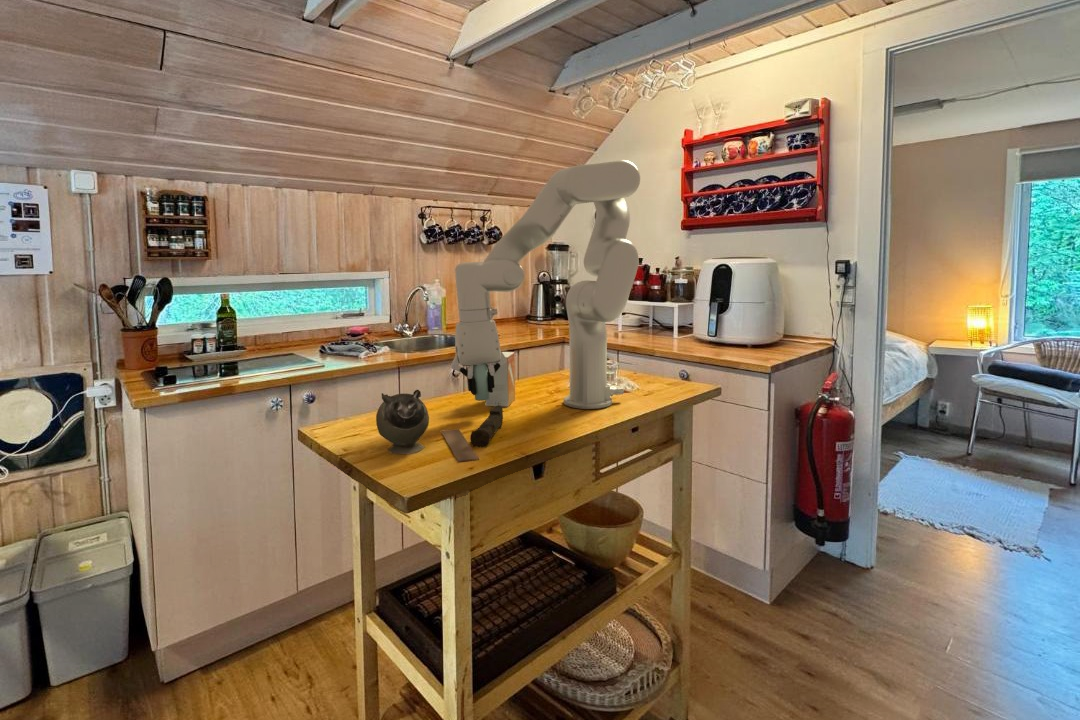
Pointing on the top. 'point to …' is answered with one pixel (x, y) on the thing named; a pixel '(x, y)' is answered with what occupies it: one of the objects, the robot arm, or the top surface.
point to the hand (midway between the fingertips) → (481, 391)
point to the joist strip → (459, 445)
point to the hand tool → (487, 428)
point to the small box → (503, 383)
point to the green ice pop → (481, 382)
